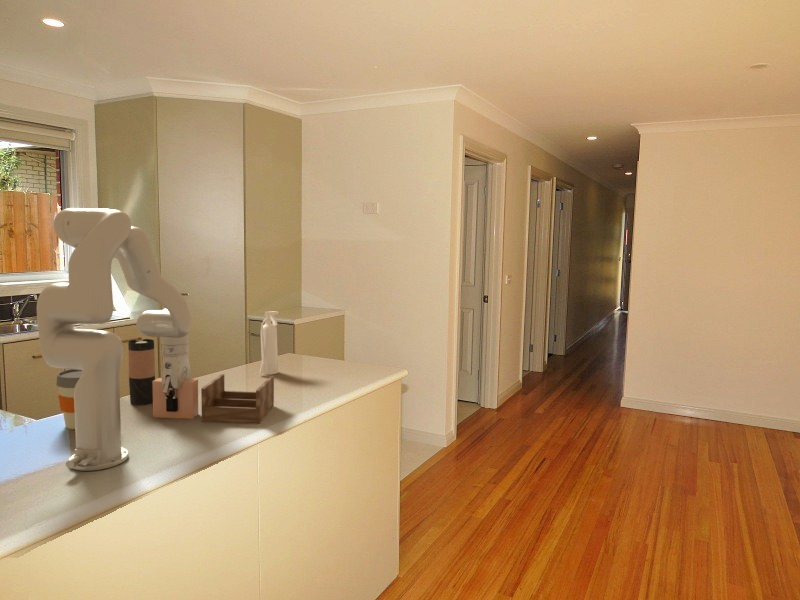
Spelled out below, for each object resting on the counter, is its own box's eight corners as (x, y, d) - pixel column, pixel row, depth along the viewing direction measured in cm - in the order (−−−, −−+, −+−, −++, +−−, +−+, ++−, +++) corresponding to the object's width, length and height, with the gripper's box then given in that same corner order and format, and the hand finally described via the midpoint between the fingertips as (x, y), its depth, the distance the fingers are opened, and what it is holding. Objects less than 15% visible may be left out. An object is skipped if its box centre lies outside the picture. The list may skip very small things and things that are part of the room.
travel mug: (145, 406, 172) (144, 344, 170) (124, 404, 174) (122, 342, 172) (160, 399, 180) (159, 339, 178) (139, 397, 181) (138, 338, 179)
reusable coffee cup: (119, 420, 159) (117, 369, 158) (83, 434, 147) (81, 380, 146) (84, 414, 163) (83, 365, 161) (46, 428, 151) (44, 375, 149)
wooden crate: (259, 423, 160) (259, 390, 159) (201, 421, 160) (201, 388, 159) (273, 406, 177) (273, 375, 176) (221, 404, 177) (221, 374, 176)
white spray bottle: (251, 375, 214) (251, 312, 211) (270, 369, 225) (270, 309, 222) (265, 377, 212) (266, 314, 209) (284, 371, 223) (284, 310, 220)
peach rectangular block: (193, 418, 163) (192, 382, 162) (153, 417, 163) (152, 381, 162) (198, 414, 167) (197, 379, 166) (159, 413, 167) (158, 377, 166)
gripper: (175, 355, 154) (176, 418, 156) (198, 344, 171) (199, 400, 173) (149, 354, 154) (150, 417, 156) (174, 343, 171) (175, 399, 173)
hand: (175, 407), depth 165 cm, fingers open, 4 cm apart
